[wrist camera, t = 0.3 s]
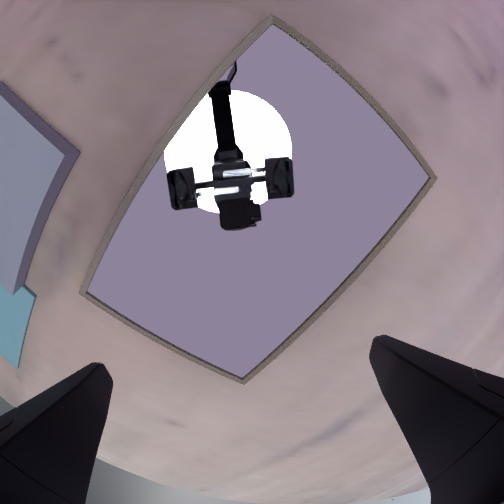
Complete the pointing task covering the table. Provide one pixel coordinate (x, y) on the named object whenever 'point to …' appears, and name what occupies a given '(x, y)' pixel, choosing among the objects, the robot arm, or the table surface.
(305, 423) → the table surface
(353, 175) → the picture frame
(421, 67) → the table surface
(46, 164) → the plate
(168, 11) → the table surface
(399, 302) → the table surface
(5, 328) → the mat
